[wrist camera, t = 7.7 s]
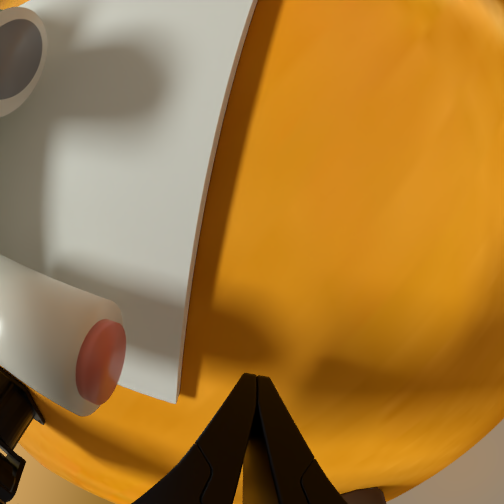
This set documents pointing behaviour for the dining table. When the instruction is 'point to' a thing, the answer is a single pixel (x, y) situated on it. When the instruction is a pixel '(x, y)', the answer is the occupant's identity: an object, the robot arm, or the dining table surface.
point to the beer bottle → (365, 496)
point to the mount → (122, 161)
